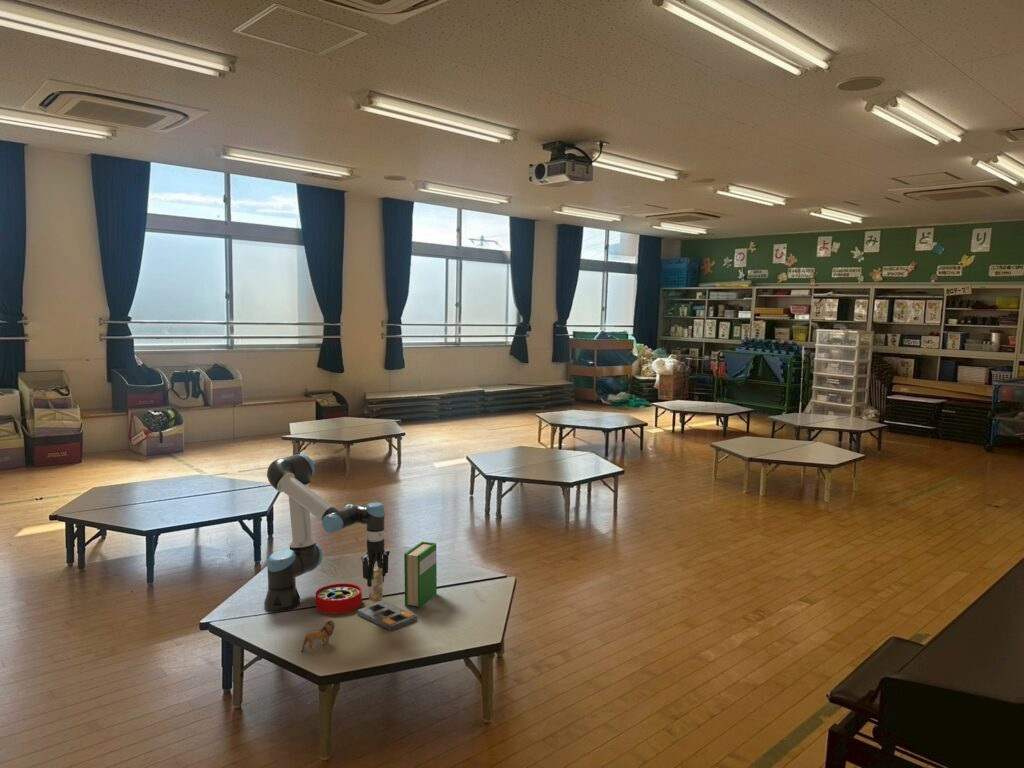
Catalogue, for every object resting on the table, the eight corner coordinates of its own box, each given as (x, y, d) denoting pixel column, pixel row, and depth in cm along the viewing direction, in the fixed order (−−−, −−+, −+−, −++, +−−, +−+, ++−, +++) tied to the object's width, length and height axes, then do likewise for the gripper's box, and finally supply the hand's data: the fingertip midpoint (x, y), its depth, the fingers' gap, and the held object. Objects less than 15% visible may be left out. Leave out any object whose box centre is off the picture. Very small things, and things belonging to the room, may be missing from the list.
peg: (374, 602, 296) (374, 571, 294) (369, 599, 298) (369, 568, 297) (382, 600, 298) (382, 568, 297) (376, 597, 301) (376, 566, 300)
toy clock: (370, 588, 311) (340, 604, 294) (371, 600, 312) (341, 617, 294) (336, 580, 320) (305, 595, 303) (337, 592, 321) (305, 608, 303)
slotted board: (390, 631, 281) (390, 625, 280) (357, 614, 296) (357, 609, 296) (417, 620, 291) (417, 615, 291) (384, 604, 306) (383, 599, 306)
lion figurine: (330, 638, 274) (330, 616, 273) (338, 642, 271) (337, 620, 270) (297, 651, 263) (296, 628, 262) (305, 655, 260) (304, 632, 259)
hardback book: (419, 608, 303) (419, 555, 301) (404, 606, 305) (404, 553, 303) (436, 593, 320) (436, 543, 317) (422, 591, 322) (421, 541, 320)
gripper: (364, 545, 287) (364, 600, 289) (396, 536, 299) (396, 588, 302) (353, 541, 292) (353, 594, 294) (386, 532, 305) (386, 584, 307)
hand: (375, 591), depth 298 cm, fingers closed on peg, 4 cm apart
